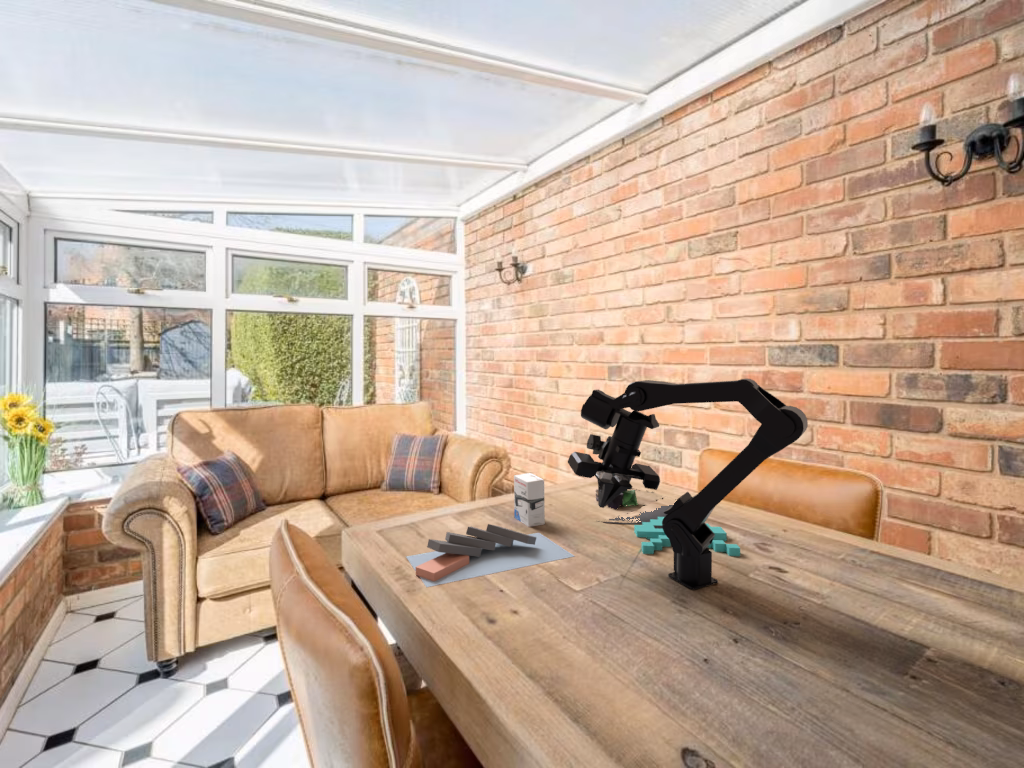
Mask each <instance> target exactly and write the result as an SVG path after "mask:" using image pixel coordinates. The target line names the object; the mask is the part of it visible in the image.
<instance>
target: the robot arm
mask: <svg viewBox="0 0 1024 768" xmlns="http://www.w3.org/2000/svg"><path fill="white" fill-rule="evenodd" d="M730 402H731V403H732V402H738V403H739V404H740V405H742V406H743V408H745V409H746V411H747V412H748V413H749V414H750V415H751V416H752V417H753V418H754V419H755V420H756V421H758V423H759V424H760V425H759V427H758V428H757V430H756V431H755V434H754V435H753V436H752V438H751V440H750V441H749V443H748V444H747V445H746V446H745V447H744V448H743V449H742V450H741V451H740V452H739V453H738V454H737V455H736V456H735V457H734V458H733V459H732V460H731V461H730V462H729V463H728V464H727V465H726V466H725V467H724V468H723V469H722V470H721V471H720V472H719V473H718V474H717V475H716V476H715V477H714V478H712V479H711V480H710V481H709V482H708V483H707V484H706V485H705V486H704V487H703V488H702V489H701V490H700V491H699V492H698V493H697V494H695V495H694V496H692V495H691V493H690V492H689V491H686V492H685V493H684V494H683V495H681V496H680V497H678V498H677V499H676V500H677V501H676V502H675V503H674V505H673V506H671V507H670V508H669V509H667V510H666V511H665V512H664V514H667V515H666V516H665V517H664V519H663V521H662V527H663V531H664V533H665V535H666V536H667V537H668V538H669V540H670V543H671V549H672V551H673V572H670V573H668V575H667V576H668V577H669V578H670V579H672V580H674V581H675V582H677V583H679V584H681V585H683V587H684V586H685V587H686V588H688V589H690V590H697V589H702V588H705V587H709V586H712V585H716V584H718V583H719V582H718V581H719V580H718V579H717V578H714V577H713V575H712V574H713V573H712V569H713V568H712V567H713V566H712V565H713V564H712V563H713V562H712V561H713V552H712V551H711V550H710V548H708V546H709V545H710V544H711V543H712V541H713V539H714V536H715V534H714V533H713V531H712V530H711V529H710V528H709V527H708V526H707V525H706V524H705V523H706V521H707V520H708V518H709V517H710V515H711V514H712V512H713V510H714V509H715V508H716V506H717V505H719V504H720V503H721V502H722V500H724V499H725V498H726V497H727V496H728V495H730V493H732V491H733V490H734V489H736V487H738V486H739V485H740V483H742V482H743V481H744V480H745V479H746V478H747V477H748V476H749V475H751V474H752V473H753V472H754V471H755V470H756V469H757V468H759V466H760V465H761V464H763V463H764V462H765V460H767V459H769V458H770V457H772V456H773V455H776V454H777V453H779V452H780V451H782V450H784V449H785V448H787V447H788V446H790V445H792V444H793V443H795V442H796V441H797V440H799V439H800V438H801V436H803V435H804V433H805V432H806V431H807V429H808V425H809V424H808V422H809V421H808V418H807V416H806V414H805V413H804V412H803V410H802V409H800V408H799V407H797V406H792V405H786V404H785V403H784V402H783V401H782V400H780V399H779V398H777V397H776V396H774V395H773V394H772V393H770V392H769V391H767V390H766V389H764V388H763V387H762V386H761V385H759V384H758V383H757V381H755V380H754V379H751V378H741V379H738V380H722V381H720V380H719V381H704V382H690V383H689V382H688V383H673V382H668V381H667V382H666V381H662V380H661V381H659V380H651V379H646V380H637V381H633V382H631V383H629V384H628V385H627V386H626V388H625V390H624V392H623V393H621V395H618V397H614V396H611V395H609V394H606V393H605V392H604V391H602V390H600V389H593V390H592V393H591V394H590V396H588V397H587V398H586V400H585V402H584V403H583V405H582V407H581V409H580V417H581V418H582V419H583V420H585V421H588V422H590V423H592V424H593V425H596V426H597V427H599V428H601V429H603V430H608V429H610V428H614V431H613V432H612V435H608V437H607V438H606V441H604V440H602V436H601V435H597V434H592V433H590V434H589V436H588V439H587V442H586V448H587V449H588V450H592V454H593V455H598V456H597V457H598V459H599V460H601V461H602V462H599V461H595V460H594V458H593V457H592V456H591V454H588V453H584V452H579V451H573V452H572V453H571V454H570V455H569V458H568V460H567V464H568V465H569V467H570V468H571V470H572V471H573V473H574V474H575V476H578V477H583V478H588V479H591V478H593V477H595V478H596V480H597V487H598V488H597V489H598V500H597V502H598V504H597V505H598V507H599V508H602V509H604V508H605V507H606V506H607V504H609V503H610V502H611V501H612V500H613V499H614V498H616V497H617V496H618V495H620V494H621V493H623V492H624V491H625V490H631V489H633V485H632V484H631V480H632V479H634V480H641V481H642V485H643V487H644V488H645V489H650V490H656V491H657V490H658V489H659V485H660V483H661V477H660V475H659V474H657V472H656V471H655V470H654V469H653V468H652V467H651V466H650V465H646V464H640V463H634V462H635V459H636V457H638V458H640V457H641V455H642V454H641V453H642V452H641V451H640V450H639V448H640V446H641V443H642V441H643V438H644V436H645V433H646V430H647V429H650V430H653V429H657V428H659V427H660V423H659V422H658V420H657V418H656V414H655V413H651V414H649V415H647V414H645V413H643V412H642V411H647V410H653V409H655V408H656V409H657V408H660V407H665V406H670V405H675V404H679V405H680V404H700V403H701V404H702V403H730ZM627 408H630V410H631V411H629V410H627Z"/></svg>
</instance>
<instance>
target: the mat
mask: <svg viewBox="0 0 1024 768" xmlns="http://www.w3.org/2000/svg"><path fill="white" fill-rule="evenodd" d="M527 535H530V536H533V537H537V538H536V542H535V545H533V544H526V543H523V542H520V541H516V540H514V541H513V545H512V546H511V547H509V546H505V545H502V544H498V543H496V545H495V550H494V551H493V550H487V549H482V548H481V549H482V550H481V555H480V557H478V556H469V555H468V556H469V564H468V565H466V566H464V567H462V568H460V569H458V570H456V571H454V572H452V573H450V574H448V575H446V576H444V577H442V578H440V579H438V580H436V581H431V580H428V579H426V578H423V577H420V576H418V578H420V580H421V581H422V583H423V584H424V586H425V587H426V588H429V587H435V586H439V585H445V584H449V583H453V582H458V581H465V580H469V579H473V578H478V577H482V576H488V575H492V574H497V573H501V572H506V571H507V572H508V571H510V570H516V569H522V568H527V567H531V566H535V565H540V564H544V563H545V564H546V563H550V562H555V561H559V560H564V559H569V558H573V557H575V555H574V554H572V553H571V552H569V551H568V550H566V549H564V548H563V547H562V546H561V545H559V544H558V543H555V542H554V541H552V540H551V539H550V538H548V537H547V536H545V535H543V534H541V532H534V533H529V534H527ZM443 554H445V553H443V552H437V551H435V550H433V551H429V552H424V553H418V554H412V555H408V556H406V555H405V558H406V559H407V561H408V562H409V564H410V565H411V567H412V568H413V570H414V571H415V572H416V567H417V566H419V565H421V564H423V563H425V562H427V561H430V560H432V559H434V558H436V557H438V556H441V555H443Z"/></svg>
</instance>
